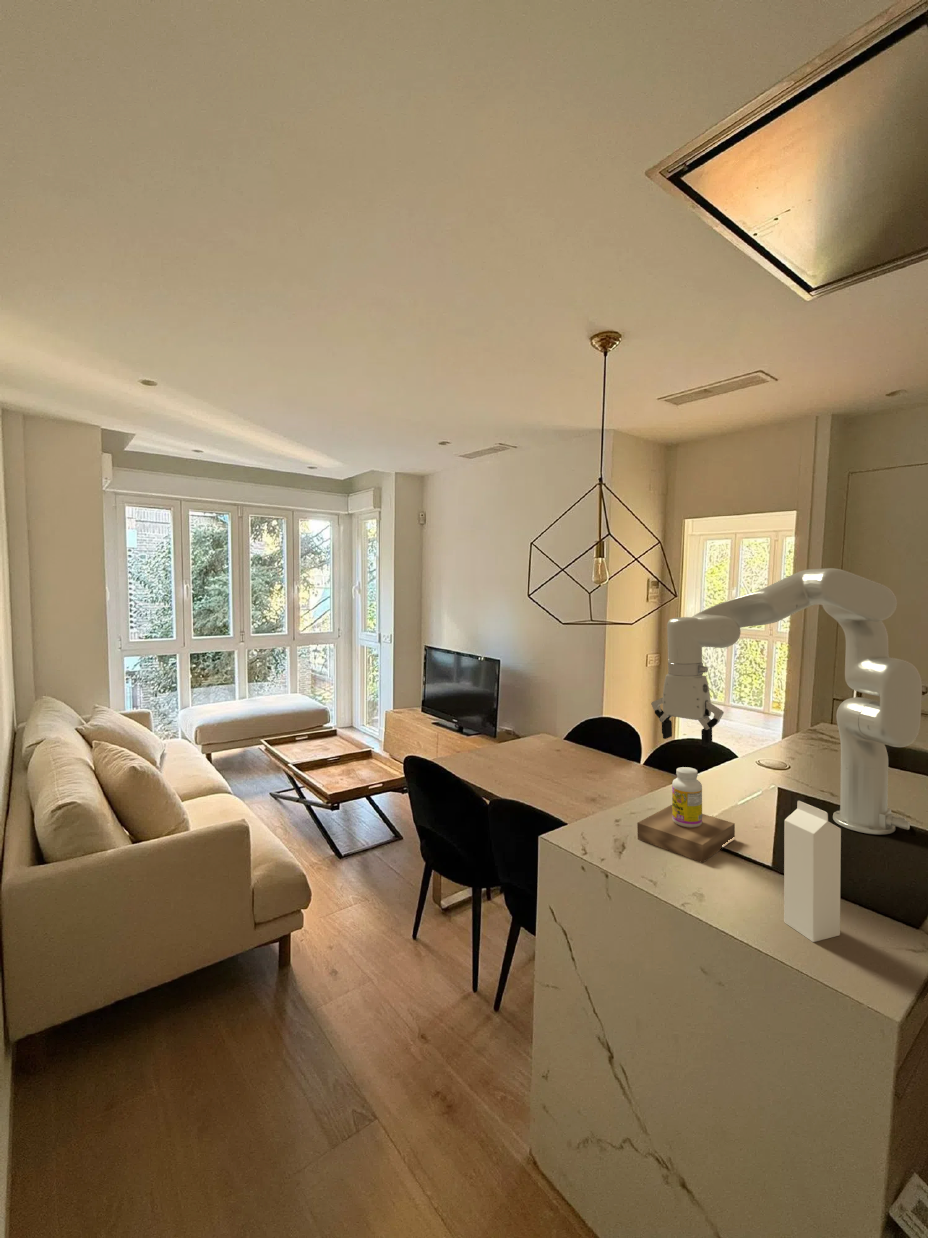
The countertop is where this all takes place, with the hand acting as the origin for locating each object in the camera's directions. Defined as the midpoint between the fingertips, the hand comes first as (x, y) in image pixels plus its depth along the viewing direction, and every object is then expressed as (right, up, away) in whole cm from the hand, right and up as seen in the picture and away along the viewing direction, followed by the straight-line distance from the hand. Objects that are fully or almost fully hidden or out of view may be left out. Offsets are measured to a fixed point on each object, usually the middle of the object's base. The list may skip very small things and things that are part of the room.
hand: (686, 741), depth 131 cm
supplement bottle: (+1, -20, +1) cm, 20 cm away
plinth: (0, -24, +1) cm, 24 cm away
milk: (+8, -26, -34) cm, 43 cm away
